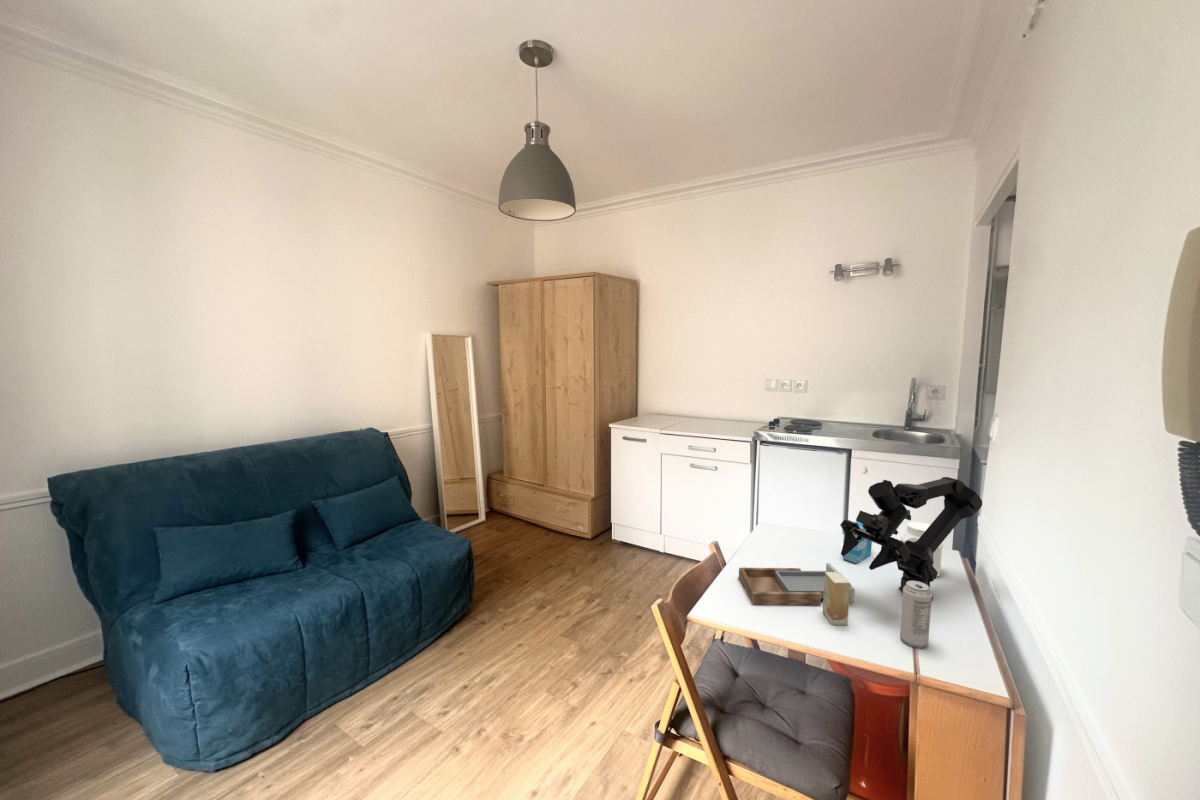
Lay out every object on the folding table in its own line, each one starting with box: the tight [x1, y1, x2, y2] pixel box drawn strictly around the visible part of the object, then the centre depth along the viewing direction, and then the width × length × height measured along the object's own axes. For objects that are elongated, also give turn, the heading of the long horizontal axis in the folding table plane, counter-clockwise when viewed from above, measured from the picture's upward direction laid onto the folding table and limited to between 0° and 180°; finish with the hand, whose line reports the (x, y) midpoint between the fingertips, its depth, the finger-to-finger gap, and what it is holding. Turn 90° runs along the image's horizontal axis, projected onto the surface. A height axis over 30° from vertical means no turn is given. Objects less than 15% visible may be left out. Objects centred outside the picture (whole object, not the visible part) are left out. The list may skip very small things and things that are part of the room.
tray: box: [774, 562, 856, 603], centre depth 147 cm, size 18×16×4 cm
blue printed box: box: [842, 521, 873, 564], centre depth 169 cm, size 12×4×12 cm, turn 128°
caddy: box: [738, 567, 822, 607], centre depth 147 cm, size 19×16×4 cm
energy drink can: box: [899, 581, 933, 649], centre depth 121 cm, size 6×6×15 cm
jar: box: [900, 521, 944, 577], centre depth 160 cm, size 12×10×15 cm
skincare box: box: [822, 571, 851, 626], centre depth 131 cm, size 6×4×12 cm
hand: (855, 561), depth 135 cm, fingers open, 9 cm apart
